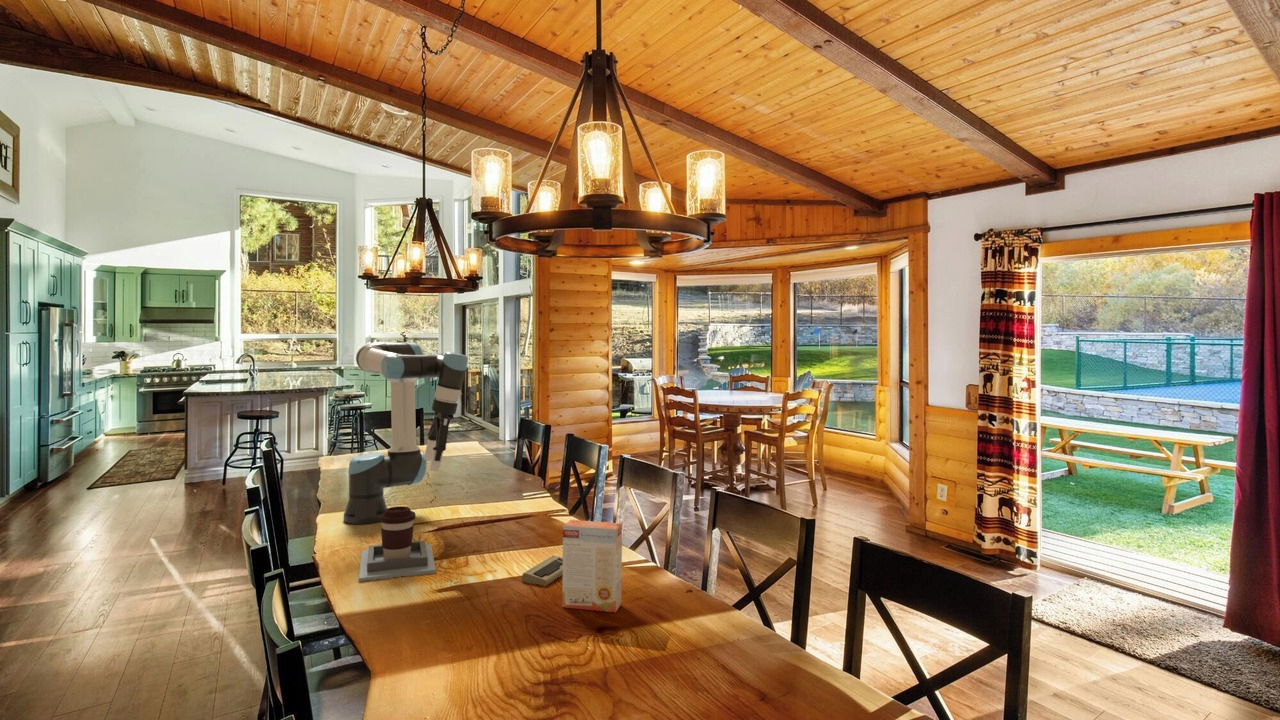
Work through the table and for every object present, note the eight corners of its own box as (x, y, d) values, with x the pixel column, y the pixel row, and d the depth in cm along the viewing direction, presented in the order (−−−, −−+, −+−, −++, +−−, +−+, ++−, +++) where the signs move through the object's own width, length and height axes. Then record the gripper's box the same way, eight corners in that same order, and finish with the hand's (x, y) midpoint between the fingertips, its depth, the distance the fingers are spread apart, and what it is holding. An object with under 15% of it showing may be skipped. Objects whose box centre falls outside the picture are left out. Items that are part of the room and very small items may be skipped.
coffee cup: (378, 566, 180) (379, 514, 179) (379, 555, 189) (379, 506, 189) (415, 563, 183) (416, 512, 183) (414, 552, 193) (414, 503, 192)
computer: (546, 588, 170) (546, 576, 170) (521, 583, 174) (521, 571, 173) (575, 569, 185) (575, 558, 185) (551, 564, 188) (551, 553, 188)
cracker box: (622, 604, 160) (623, 522, 159) (615, 614, 154) (617, 529, 153) (569, 598, 163) (570, 518, 162) (561, 607, 157) (562, 524, 156)
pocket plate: (362, 553, 194) (362, 542, 194) (430, 546, 201) (430, 535, 201) (358, 582, 171) (358, 569, 171) (435, 573, 179) (435, 560, 179)
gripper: (465, 409, 192) (449, 477, 192) (451, 396, 214) (436, 457, 214) (440, 404, 189) (424, 473, 189) (428, 392, 211) (414, 454, 211)
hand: (430, 465), depth 202 cm, fingers open, 13 cm apart
